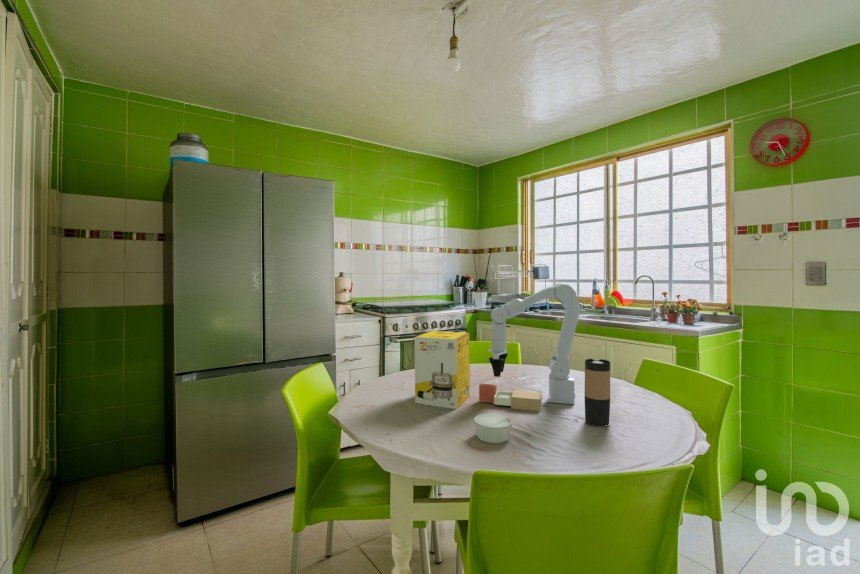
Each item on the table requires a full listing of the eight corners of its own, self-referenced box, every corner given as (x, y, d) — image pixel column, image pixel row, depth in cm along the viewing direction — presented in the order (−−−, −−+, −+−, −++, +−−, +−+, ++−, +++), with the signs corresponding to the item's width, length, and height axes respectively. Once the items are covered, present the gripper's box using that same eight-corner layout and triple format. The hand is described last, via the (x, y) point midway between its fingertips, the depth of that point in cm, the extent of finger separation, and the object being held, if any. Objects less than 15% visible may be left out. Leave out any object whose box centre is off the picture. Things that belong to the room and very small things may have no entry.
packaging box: (415, 403, 150) (414, 337, 149) (431, 391, 165) (430, 330, 164) (456, 409, 144) (456, 339, 143) (469, 396, 159) (469, 332, 158)
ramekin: (512, 446, 113) (512, 428, 113) (472, 444, 115) (472, 425, 115) (512, 431, 124) (512, 414, 124) (475, 428, 126) (475, 412, 126)
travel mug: (598, 429, 125) (599, 364, 124) (579, 421, 131) (579, 360, 131) (615, 424, 128) (615, 362, 127) (595, 416, 135) (595, 357, 134)
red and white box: (522, 400, 151) (522, 385, 150) (520, 406, 143) (520, 390, 143) (481, 396, 155) (481, 381, 155) (477, 402, 148) (477, 387, 148)
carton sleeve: (541, 403, 149) (541, 392, 149) (540, 411, 141) (540, 399, 140) (514, 400, 152) (514, 389, 152) (511, 408, 144) (511, 396, 144)
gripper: (491, 335, 163) (491, 368, 163) (484, 341, 149) (484, 378, 150) (509, 336, 161) (509, 370, 161) (503, 342, 147) (504, 379, 147)
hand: (498, 374), depth 155 cm, fingers open, 7 cm apart
